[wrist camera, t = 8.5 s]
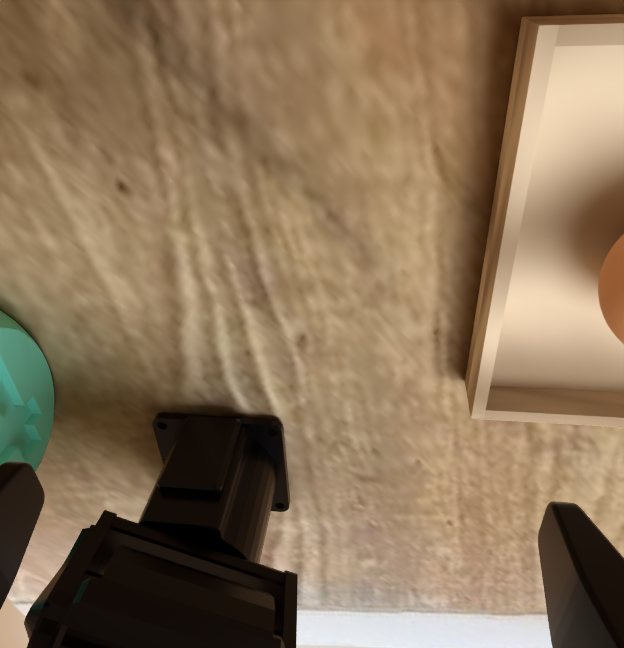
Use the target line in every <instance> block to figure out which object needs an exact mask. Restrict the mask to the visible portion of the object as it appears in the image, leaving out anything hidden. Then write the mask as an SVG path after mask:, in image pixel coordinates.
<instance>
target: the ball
mask: <svg viewBox="0 0 624 648" xmlns="http://www.w3.org/2000/svg"><path fill="white" fill-rule="evenodd" d="M598 297H599V304H600V308H601V311H602V314H603V317H604V319H605V321H606V323H607V325H608V326H609V328H610V329H611V331H612V332H613V333H614V335H615V336H616V337H617V338H618V339H619V340H620V341H621V342H622V343H623V344H624V234H623V235H622V236H621V237H620V238H619V239H618V240H617V242H616V243H615V244H614V245H613V247H612V248H611V249H610V251H609V253H608V255H607V256H606V258H605V261H604V263H603V266H602V268H601V271H600V276H599V282H598Z"/></svg>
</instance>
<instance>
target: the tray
mask: <svg viewBox="0 0 624 648" xmlns="http://www.w3.org/2000/svg"><path fill="white" fill-rule="evenodd" d="M623 234H624V14H598V15H563V16H529V17H522V19H521V26H520V32H519V39H518V45H517V51H516V58H515V64H514V71H513V77H512V83H511V90H510V96H509V103H508V109H507V115H506V122H505V128H504V135H503V141H502V148H501V154H500V160H499V167H498V173H497V180H496V186H495V192H494V199H493V205H492V212H491V218H490V224H489V231H488V237H487V244H486V250H485V256H484V263H483V269H482V276H481V282H480V288H479V295H478V301H477V308H476V314H475V320H474V327H473V333H472V340H471V346H470V352H469V359H468V365H467V372H466V378H465V385H466V391H467V397H468V403H469V409H470V415H471V419H485V420H503V421H521V422H538V423H556V424H574V425H591V426H609V427H624V344H623V343H622V342H621V341H620V340H619V339H618V338H617V337H616V336H615V335H614V333H613V332H612V331H611V329H610V328H609V326H608V325H607V323H606V321H605V319H604V317H603V314H602V311H601V308H600V304H599V297H598V282H599V276H600V271H601V268H602V266H603V263H604V261H605V258H606V256H607V255H608V253H609V251H610V249H611V248H612V247H613V245H614V244H615V243H616V242H617V240H618V239H619V238H620V237H621V236H622V235H623Z"/></svg>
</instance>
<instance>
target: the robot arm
mask: <svg viewBox="0 0 624 648" xmlns="http://www.w3.org/2000/svg"><path fill="white" fill-rule="evenodd" d="M162 422H163V423H162ZM153 428H154V432H155V436H156V439H157V443H158V446H159V450H160V454H161V457H162V461H163V464H164V466H163V468H162V470H161V472H160V475H159V477H158V479H157V481H156V484H155V486H154V488H153V490H152V493H151V495H150V497H149V499H148V502H147V504H146V506H145V508H144V511H143V513H142V515H141V517H140V520H139V522H138V523H135V522H132V521H129V520H126V519H123V518H120V517H117V514H115V513H112V512H109V511H106V510H104V512H103V514H102V515H101V517H100V519H99V520H98V522H97V524H96V525H91V526H90V528H86V529H82V531H81V533H80V535H79V537H78V539H77V540H76V542H75V544H74V546H73V548H72V550H71V552H70V553H69V555H68V557H67V559H66V560H65V562H64V564H63V565H62V567H61V568H60V570H59V571H58V572H57V574H56V575H55V576H54V578H53V579H52V580H51V581H50V583H49V584H48V585H47V587H46V588H45V589H44V591H43V592H42V593H41V595H40V596H39V597H38V599H37V600H36V601H35V602H34V604H33V605H32V607H31V608H30V610H29V612H28V614H27V616H26V618H25V622H24V625H25V628H26V631H27V634H28V637H29V643H28V646H27V648H296V624H297V574H295V573H292V572H289V571H286V570H285V572H282V571H279V570H276V569H273V568H270V567H267V566H264V565H261V564H259V562H260V558H261V553H262V549H263V544H264V539H265V535H266V530H267V525H268V521H269V516H270V512H271V511H278V512H284V511H287V510H288V509H289V504H290V493H289V483H288V472H287V461H286V450H285V439H284V428H283V425H282V423H281V422H279V421H277V420H274V419H261V418H244V417H227V416H210V415H193V414H177V413H159V414H157V415H156V417H155V419H154V421H153ZM271 429H274V430H271ZM43 504H44V490H43V488H42V486H41V484H40V482H39V480H38V477H37V475H36V473H35V471H34V469H33V467H32V466H31V465H30V464H29V463H25V462H12V461H11V462H5V463H3V464H1V465H0V609H1V607H2V605H3V603H4V601H5V599H6V597H7V595H8V593H9V590H10V588H11V586H12V584H13V582H14V579H15V577H16V574H17V572H18V569H19V567H20V564H21V562H22V559H23V556H24V554H25V551H26V549H27V546H28V543H29V541H30V538H31V536H32V533H33V530H34V528H35V525H36V523H37V520H38V517H39V515H40V512H41V510H42V507H43ZM538 547H539V555H540V562H541V569H542V577H543V584H544V592H545V599H546V607H547V614H548V622H549V629H550V635H551V642H552V646H553V648H624V558H623V557H622V555H621V554H620V553H619V552H618V551H617V550H616V548H615V547H614V546H613V545H612V544H611V543H610V541H609V540H608V539H607V538H606V537H605V536H604V535H603V533H602V532H601V531H600V530H599V529H598V528H597V526H596V525H595V524H594V523H593V522H592V521H591V519H590V518H589V517H588V516H587V515H586V514H585V512H584V511H583V510H582V509H581V508H580V507H579V506H578V505H576V504H574V503H567V502H550V503H549V504H548V506H547V508H546V511H545V514H544V517H543V520H542V524H541V527H540V530H539V534H538Z"/></svg>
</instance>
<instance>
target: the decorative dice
mask: <svg viewBox="0 0 624 648" xmlns="http://www.w3.org/2000/svg"><path fill="white" fill-rule="evenodd" d="M53 418H54V388H53V381H52V376H51V372H50V369H49V366H48V364H47V361H46V359H45V357H44V355H43V353H42V352H41V350H40V349H39V347H38V345H37V344H36V343H35V341H34V340H33V339H32V337H31V336H30V335H29V334H28V333H27V332H26V331H25V330H24V329H23V328H22V327H21V326H20V325H19V324H18V323H17V322H16V321H14V320H13V319H12V318H11V317H9V316H8V315H6V314H5V313H3V312H2V311H0V465H1V464H3V463H5V462H11V461H12V462H25V463H29V464H30V465H31V466H32V467H33V469H34V471H36V470H37V468H38V466H39V464H40V462H41V460H42V458H43V456H44V453H45V450H46V448H47V445H48V442H49V438H50V434H51V430H52V425H53Z"/></svg>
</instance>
